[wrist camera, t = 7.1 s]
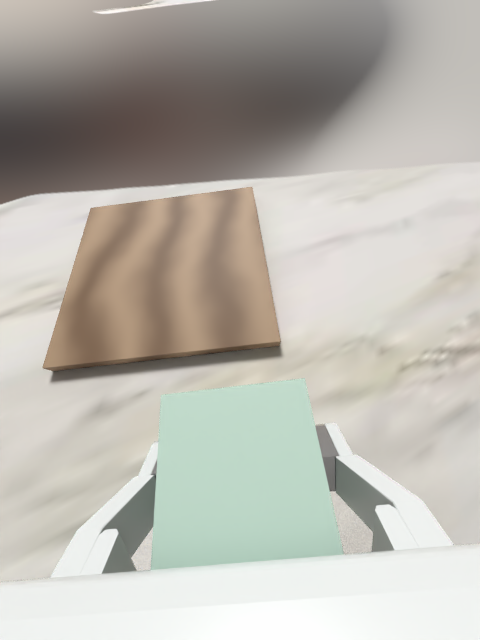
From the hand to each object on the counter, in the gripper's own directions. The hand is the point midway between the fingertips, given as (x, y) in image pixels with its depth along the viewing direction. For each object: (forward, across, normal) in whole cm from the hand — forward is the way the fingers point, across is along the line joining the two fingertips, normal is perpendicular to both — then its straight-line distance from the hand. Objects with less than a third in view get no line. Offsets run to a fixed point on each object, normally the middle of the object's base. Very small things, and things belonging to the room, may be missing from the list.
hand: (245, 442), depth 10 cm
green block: (+3, 0, +4) cm, 4 cm away
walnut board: (+19, +8, -7) cm, 22 cm away
